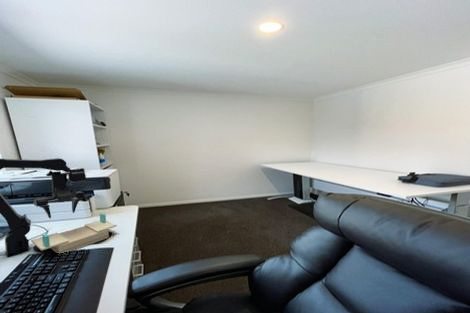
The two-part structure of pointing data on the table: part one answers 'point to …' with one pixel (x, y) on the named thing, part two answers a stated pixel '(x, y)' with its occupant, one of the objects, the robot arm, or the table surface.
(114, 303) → the table surface
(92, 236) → the carton
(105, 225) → the flap far
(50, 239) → the flap near
